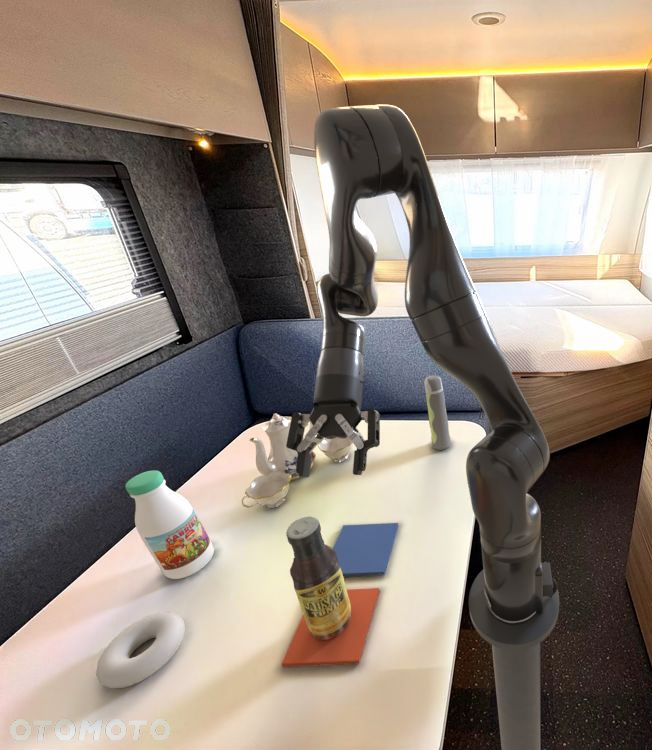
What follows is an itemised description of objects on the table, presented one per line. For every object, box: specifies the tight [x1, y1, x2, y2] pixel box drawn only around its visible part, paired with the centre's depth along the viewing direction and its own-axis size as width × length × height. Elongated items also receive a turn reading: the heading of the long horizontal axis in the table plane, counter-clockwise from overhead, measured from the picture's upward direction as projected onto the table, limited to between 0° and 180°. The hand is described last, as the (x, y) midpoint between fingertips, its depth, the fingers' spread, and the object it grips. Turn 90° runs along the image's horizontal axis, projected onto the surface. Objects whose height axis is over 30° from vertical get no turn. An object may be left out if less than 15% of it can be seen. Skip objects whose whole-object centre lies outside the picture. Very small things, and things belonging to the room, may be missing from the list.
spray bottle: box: [423, 375, 452, 451], centre depth 97 cm, size 5×5×20 cm
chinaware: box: [241, 412, 354, 509], centre depth 90 cm, size 28×17×17 cm, turn 154°
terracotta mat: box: [281, 587, 381, 668], centre depth 60 cm, size 11×11×1 cm
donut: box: [95, 611, 186, 689], centre depth 57 cm, size 10×4×10 cm
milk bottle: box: [125, 470, 215, 580], centre depth 67 cm, size 8×8×20 cm
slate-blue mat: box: [332, 522, 399, 578], centre depth 72 cm, size 11×11×1 cm
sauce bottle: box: [285, 515, 351, 640], centre depth 55 cm, size 7×6×20 cm
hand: (330, 475), depth 61 cm, fingers open, 8 cm apart
